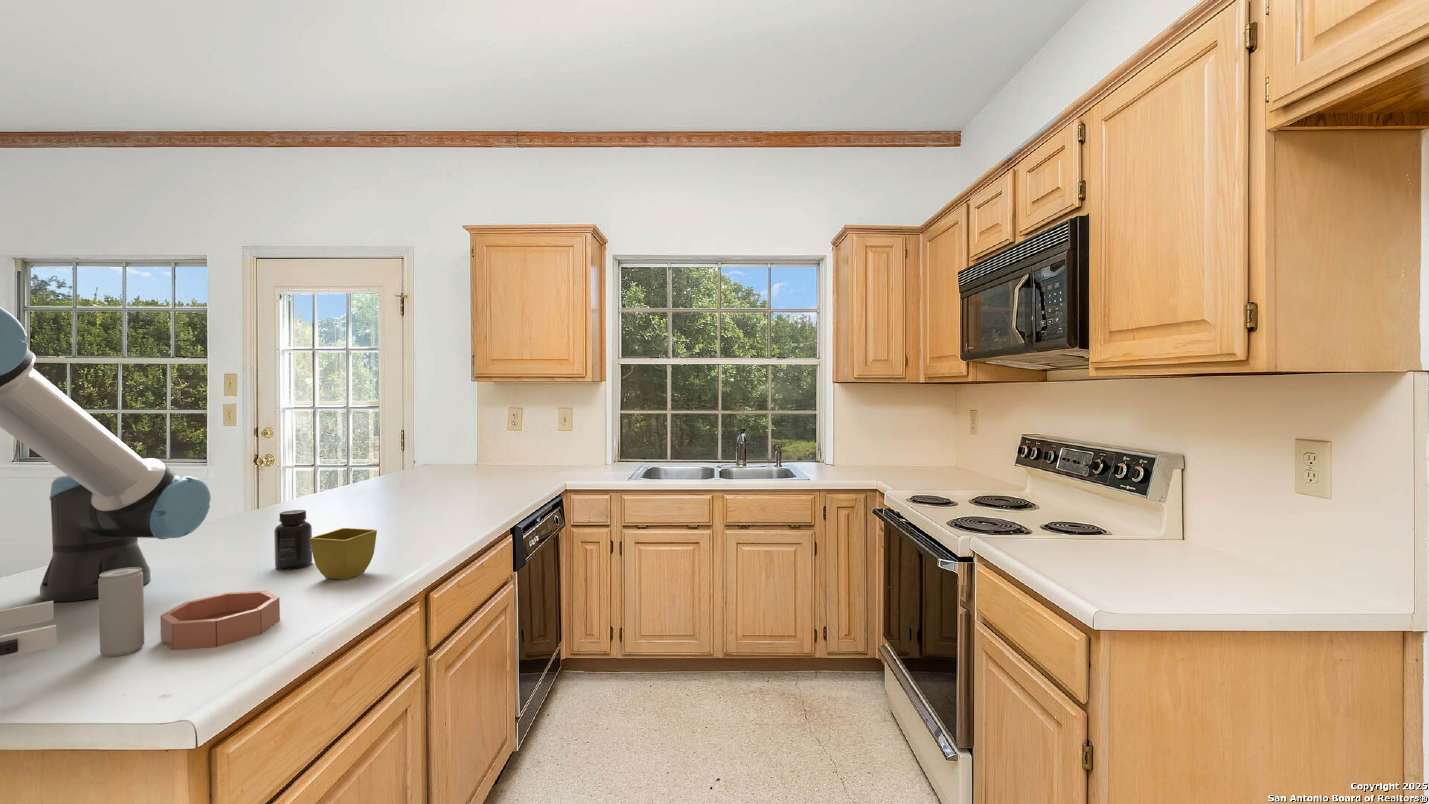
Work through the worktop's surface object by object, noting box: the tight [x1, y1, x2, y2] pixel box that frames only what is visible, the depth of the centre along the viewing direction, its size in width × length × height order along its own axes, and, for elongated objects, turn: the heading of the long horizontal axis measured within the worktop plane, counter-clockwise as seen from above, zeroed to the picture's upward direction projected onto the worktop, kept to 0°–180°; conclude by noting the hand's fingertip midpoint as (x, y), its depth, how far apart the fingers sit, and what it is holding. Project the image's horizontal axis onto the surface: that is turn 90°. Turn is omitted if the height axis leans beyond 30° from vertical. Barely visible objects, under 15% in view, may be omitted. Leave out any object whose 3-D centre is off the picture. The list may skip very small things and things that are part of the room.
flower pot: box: [310, 527, 378, 581], centre depth 127 cm, size 9×9×9 cm
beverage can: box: [98, 567, 145, 658], centre depth 91 cm, size 5×5×12 cm
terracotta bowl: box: [159, 590, 281, 651], centre depth 99 cm, size 14×14×4 cm
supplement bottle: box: [273, 509, 313, 570], centre depth 134 cm, size 7×7×12 cm
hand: (55, 622), depth 86 cm, fingers open, 13 cm apart
